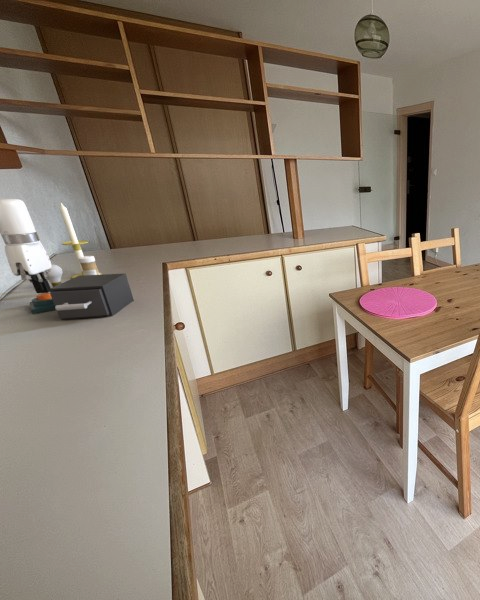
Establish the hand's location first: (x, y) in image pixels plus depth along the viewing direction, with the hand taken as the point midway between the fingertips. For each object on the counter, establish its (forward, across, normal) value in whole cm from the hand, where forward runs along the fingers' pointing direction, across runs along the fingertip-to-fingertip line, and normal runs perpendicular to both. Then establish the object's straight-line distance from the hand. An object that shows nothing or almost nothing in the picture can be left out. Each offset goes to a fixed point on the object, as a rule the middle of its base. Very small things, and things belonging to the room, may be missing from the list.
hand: (44, 292), depth 107 cm
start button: (+3, 0, 0) cm, 3 cm away
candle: (+6, -41, -10) cm, 43 cm away
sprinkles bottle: (+6, -19, +4) cm, 20 cm away
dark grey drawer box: (+6, +6, +17) cm, 19 cm away
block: (+6, 0, 0) cm, 6 cm away
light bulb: (+6, -23, -11) cm, 26 cm away
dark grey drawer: (+5, +10, +17) cm, 21 cm away
